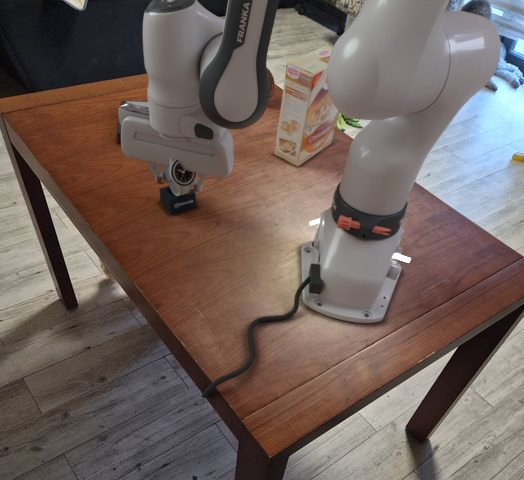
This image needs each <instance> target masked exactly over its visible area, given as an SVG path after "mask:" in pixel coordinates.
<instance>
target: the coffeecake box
mask: <svg viewBox="0 0 524 480" xmlns="http://www.w3.org/2000/svg"><path fill="white" fill-rule="evenodd" d="M332 49H333V47H332V46H329V45H327V44H325V45H324V46H321V47H319V48H316V49H314V50H312V51H310V52H307V53H305V54H303V55H301V56H298V57H297V58H294V59H293V60H292V59H291V60H289V61H288V62H286V67H285V68H286V69H285V76H284V82H283V89H282V96H281V102H280V103H281V104H280V110H279V111H280V112H279V118H278V125H277V132H276V140H275V146H274V153H273V154H274V155H275V156H277V157H279V158H281V159H283V160H284V161H286V162H288V163H290V164H292V165H294V166H296V167H300V166H301V165H302V164H304V163H305V162H306V161H308V160H309V159H311V158H312V157H314V156H315V155H316V154H318V153H319V152H321V151H322V150H324V149H326V148H327V147H328V146H329V145H332V141H333V136H334V133H335V130H336V129H335V127H336V126H337V125H336V124H337V120H338V116H339V113H340V112H339V111H338V110H337V108H336V107H335V105H334V104H333V102H332V100H331V97H330V94H329V91H328V86H327V66H328V61H329V57H330V54H331V51H332Z"/></svg>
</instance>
